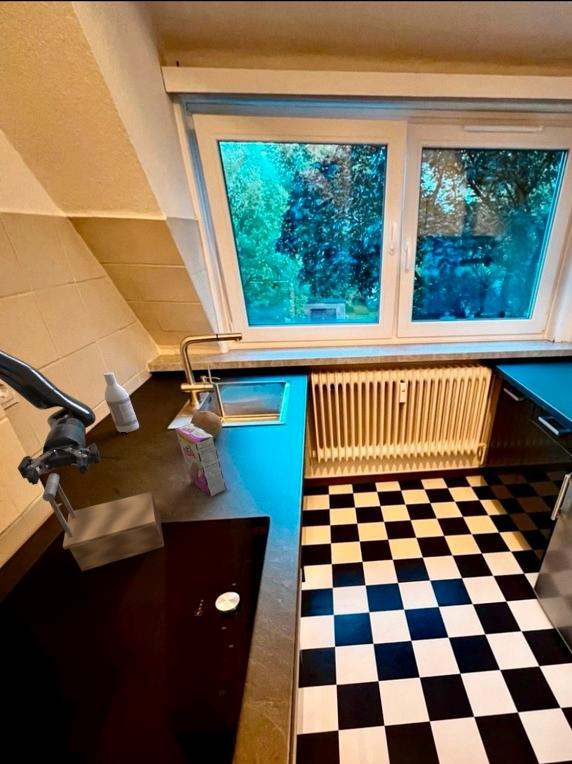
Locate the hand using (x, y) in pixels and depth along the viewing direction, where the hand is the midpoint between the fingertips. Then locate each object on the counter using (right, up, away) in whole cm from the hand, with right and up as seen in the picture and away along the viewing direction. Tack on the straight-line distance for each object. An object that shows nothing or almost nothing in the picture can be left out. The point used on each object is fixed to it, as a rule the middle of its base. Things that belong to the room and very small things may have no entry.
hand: (57, 475), depth 80 cm
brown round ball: (+12, +13, +50) cm, 53 cm away
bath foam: (-19, +17, +57) cm, 62 cm away
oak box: (+10, -15, +7) cm, 19 cm away
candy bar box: (+21, -3, +25) cm, 33 cm away
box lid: (+9, -9, +3) cm, 14 cm away
